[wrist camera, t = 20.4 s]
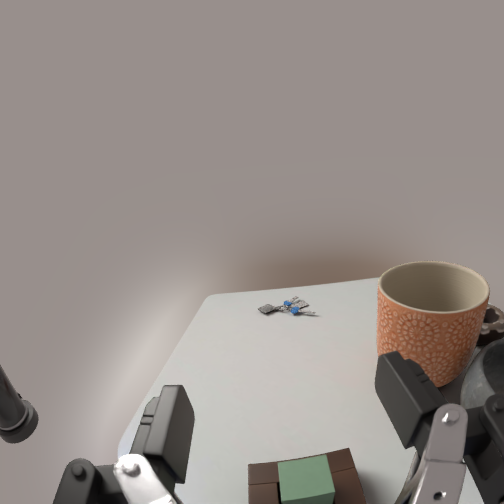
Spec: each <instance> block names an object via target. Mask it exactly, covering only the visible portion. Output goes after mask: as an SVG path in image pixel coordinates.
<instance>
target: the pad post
mask: <svg viewBox="0 0 504 504" xmlns="http://www.w3.org/2000/svg"><path fill="white" fill-rule="evenodd" d="M278 471H279V481H280V491H281V501H282V504H332V503H333V499H334V495H335V488H334V484H333V480H332V476H331V472H330V468H329V464H328V460H327V456H326V455H321V456H316V457H311V458H305V459H299V460H293V461H286V462H278Z"/></svg>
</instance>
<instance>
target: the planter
mask: <svg viewBox="0 0 504 504" xmlns="http://www.w3.org/2000/svg"><path fill="white" fill-rule="evenodd" d="M489 294H490V288H489V285H488V283H487V281H486V280H485V279H484V278H483V277H482V276H481V275H480V274H478V273H477V272H475V271H474V270H472V269H469V268H467V267H464V266H461V265H457V264H453V263H448V262H439V261H419V262H411V263H406V264H402V265H398V266H396V267H393V268H391V269H389V270H387V271H386V272H385V273H383V275H381V277H380V278H379V281H378V309H377V351H378V357H379V356H380V355H382V354H386V353H389V352H392V351H398V352H399V353H400V354H401V356H402V357H403V358H404V360H406V359H411V360H413V361H414V362H416V363H418V364H419V365H420V366H421V368H422V369H423V370H424V371H425V374H427V375H428V377H429V378H430V380H432V382H433V383H434V384H435V386H436V387H437V388H438V387H441V386H444V385H446V384H448V383H450V382H451V381H453V380H454V379H455V378H457V377H458V376H459V375H460V374H461V373H462V371H463V370H464V369H465V367H466V366H467V364H468V362H469V360H470V358H471V356H472V354H473V351H474V349H475V346H476V343H477V340H478V337H479V334H480V331H481V327H482V324H483V320H484V317H485V313H486V309H487V305H488V300H489Z"/></svg>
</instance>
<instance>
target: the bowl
mask: <svg viewBox="0 0 504 504" xmlns="http://www.w3.org/2000/svg"><path fill="white" fill-rule="evenodd" d="M494 394H503V395H504V339H499V340H496V341H493V342H491V343H490V344H488V345H487V346H486V347H484V348H483V349H482V350H481V351H480V352H479V353H478V354H477V356H476V357H475V359H474V360H473V362H472V363H471V365H470V367H469V369H468V371H467V373H466V375H465V378H464V381H463V384H462V389H461V397H460V406H462V407H463V408H464V409H470V408H475V407H479V406H483V405H484V403H485V401H486V400H487V398H488V397H490V396H491V395H494ZM494 444H495V443H494ZM495 446H496V445H495Z"/></svg>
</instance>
